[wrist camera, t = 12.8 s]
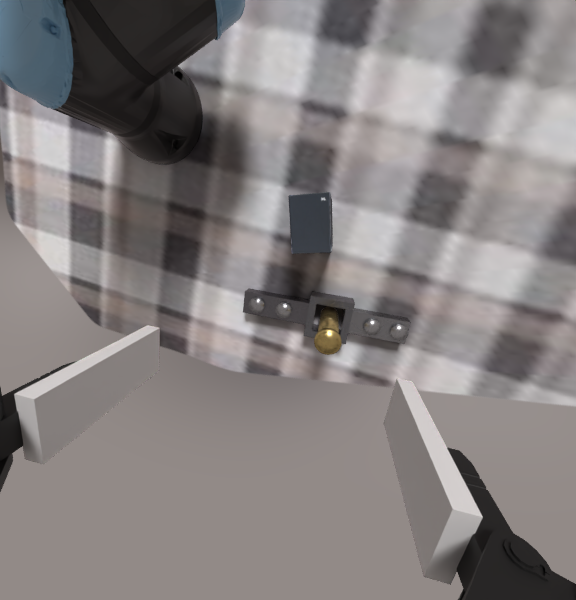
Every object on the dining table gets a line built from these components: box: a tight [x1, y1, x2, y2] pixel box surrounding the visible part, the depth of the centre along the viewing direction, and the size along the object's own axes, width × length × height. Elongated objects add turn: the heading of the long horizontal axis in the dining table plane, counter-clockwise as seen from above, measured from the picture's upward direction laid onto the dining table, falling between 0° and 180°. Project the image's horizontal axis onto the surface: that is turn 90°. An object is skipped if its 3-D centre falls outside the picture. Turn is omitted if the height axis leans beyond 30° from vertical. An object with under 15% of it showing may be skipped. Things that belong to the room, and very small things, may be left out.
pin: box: [314, 307, 341, 355], centre depth 43 cm, size 4×4×12 cm
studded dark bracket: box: [243, 289, 411, 344], centre depth 47 cm, size 29×7×4 cm, turn 81°
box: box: [289, 192, 333, 254], centre depth 40 cm, size 8×6×11 cm
